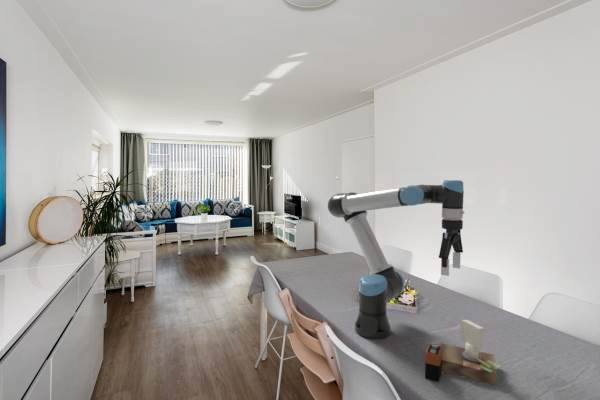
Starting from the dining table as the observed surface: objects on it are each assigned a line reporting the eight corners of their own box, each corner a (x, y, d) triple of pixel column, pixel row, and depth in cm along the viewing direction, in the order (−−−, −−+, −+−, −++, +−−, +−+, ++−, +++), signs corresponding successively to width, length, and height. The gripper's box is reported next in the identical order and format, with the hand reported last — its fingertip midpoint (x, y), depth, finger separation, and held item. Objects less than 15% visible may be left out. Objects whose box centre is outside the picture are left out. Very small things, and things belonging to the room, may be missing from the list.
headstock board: (428, 368, 110) (429, 357, 110) (432, 351, 122) (433, 340, 121) (501, 387, 100) (502, 374, 100) (498, 366, 112) (499, 355, 111)
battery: (441, 372, 108) (442, 344, 108) (439, 383, 103) (439, 353, 102) (428, 368, 111) (428, 340, 110) (424, 379, 105) (425, 349, 104)
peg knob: (482, 370, 102) (484, 334, 102) (456, 354, 112) (457, 321, 112) (496, 367, 104) (497, 331, 104) (469, 351, 114) (470, 318, 114)
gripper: (451, 223, 115) (450, 280, 116) (471, 216, 133) (470, 266, 134) (430, 221, 120) (429, 276, 122) (452, 215, 138) (451, 263, 140)
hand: (450, 271), depth 128 cm, fingers open, 13 cm apart
